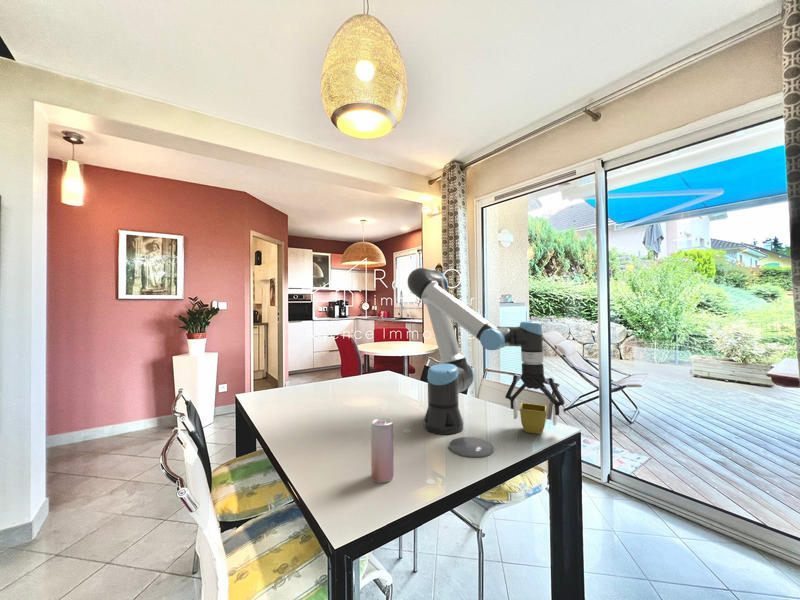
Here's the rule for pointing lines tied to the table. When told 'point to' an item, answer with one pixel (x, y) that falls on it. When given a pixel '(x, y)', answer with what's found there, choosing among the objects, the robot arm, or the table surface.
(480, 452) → the disc
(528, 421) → the flower pot
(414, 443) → the table surface
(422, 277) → the robot arm
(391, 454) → the beverage can
